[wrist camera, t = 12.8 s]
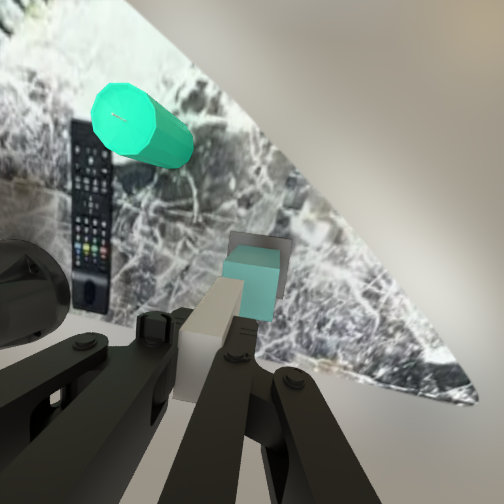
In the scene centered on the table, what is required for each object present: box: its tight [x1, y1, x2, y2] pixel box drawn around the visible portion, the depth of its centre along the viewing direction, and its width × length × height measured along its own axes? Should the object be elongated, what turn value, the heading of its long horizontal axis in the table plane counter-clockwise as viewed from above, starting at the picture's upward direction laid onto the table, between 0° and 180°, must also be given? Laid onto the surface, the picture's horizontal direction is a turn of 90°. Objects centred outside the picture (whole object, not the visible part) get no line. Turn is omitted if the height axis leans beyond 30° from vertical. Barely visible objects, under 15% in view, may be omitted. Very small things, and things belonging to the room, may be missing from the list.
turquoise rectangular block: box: [222, 244, 280, 322], centre depth 29 cm, size 5×5×10 cm
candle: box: [91, 83, 194, 169], centre depth 28 cm, size 6×6×12 cm
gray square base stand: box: [227, 231, 292, 299], centre depth 30 cm, size 8×8×10 cm
